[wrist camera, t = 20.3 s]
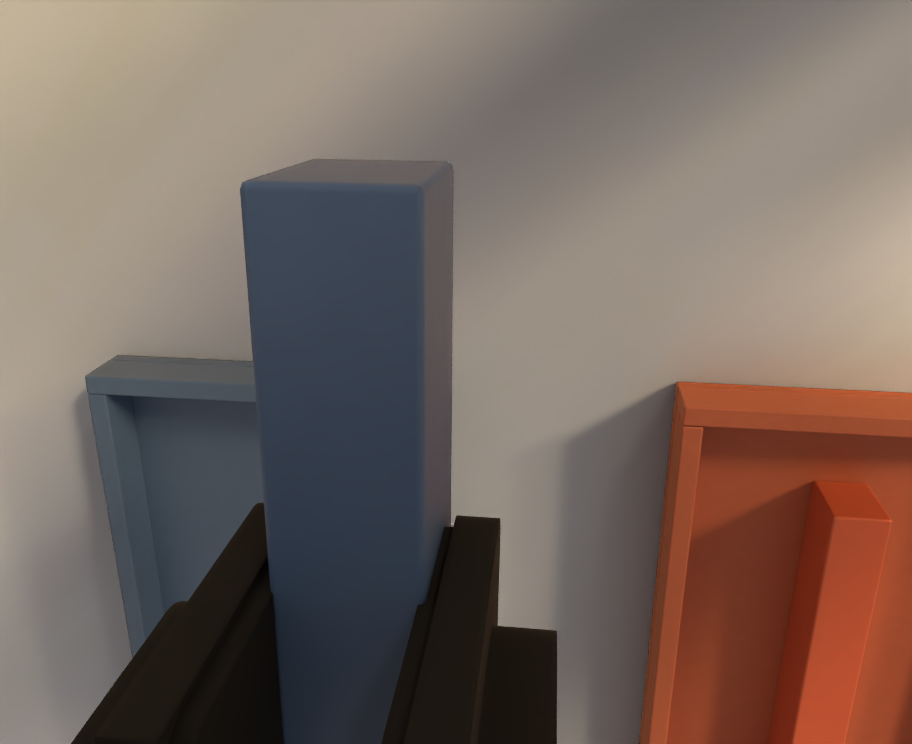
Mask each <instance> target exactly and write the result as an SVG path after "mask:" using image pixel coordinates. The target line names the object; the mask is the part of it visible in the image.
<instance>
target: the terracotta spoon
mask: <svg viewBox="0 0 912 744" xmlns="http://www.w3.org/2000/svg"><path fill="white" fill-rule="evenodd" d="M891 525H892V520H891V518H890V517H889V515H888V514H887V513H886V511H885V510H884V508H883V507H882V505H881V504H880V502H879V501H878V499H877V498H876V497H875V495H874V494H873V492H872V491H871V489H870V488H869V486H868V485H867V484H859V483H843V482H826V481H813V484H812V490H811V495H810V501H809V507H808V513H807V519H806V524H805V530H804V536H803V542H802V548H801V553H800V559H799V565H798V571H797V577H796V582H795V588H794V594H793V600H792V606H791V612H790V617H789V623H788V629H787V635H786V641H785V646H784V652H783V658H782V664H781V670H780V675H779V681H778V687H777V693H776V699H775V705H774V710H773V716H772V722H771V728H770V734H769V739H768V744H845V739H846V734H847V730H848V725H849V720H850V716H851V711H852V706H853V702H854V697H855V692H856V688H857V683H858V678H859V674H860V669H861V665H862V660H863V655H864V651H865V646H866V641H867V637H868V632H869V627H870V623H871V618H872V613H873V609H874V604H875V599H876V595H877V590H878V585H879V581H880V576H881V571H882V567H883V562H884V557H885V553H886V548H887V543H888V539H889V534H890V529H891Z"/></svg>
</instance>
